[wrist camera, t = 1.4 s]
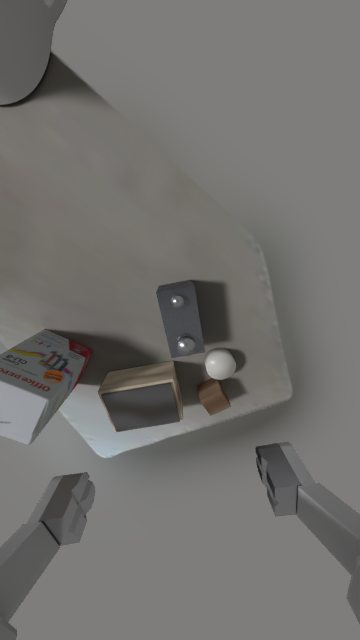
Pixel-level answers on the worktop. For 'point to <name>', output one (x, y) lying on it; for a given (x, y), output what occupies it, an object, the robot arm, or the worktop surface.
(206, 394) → the walnut block
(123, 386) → the stand
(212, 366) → the white egg shape
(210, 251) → the worktop surface
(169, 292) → the block
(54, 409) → the ink box
